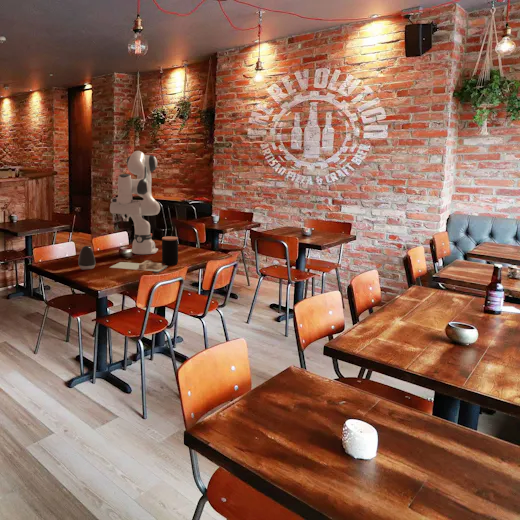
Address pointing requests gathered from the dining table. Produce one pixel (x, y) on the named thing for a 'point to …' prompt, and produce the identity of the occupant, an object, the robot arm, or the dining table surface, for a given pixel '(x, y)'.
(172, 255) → the coffee jar
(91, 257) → the dark egg shaped speaker
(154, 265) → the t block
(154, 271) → the board
